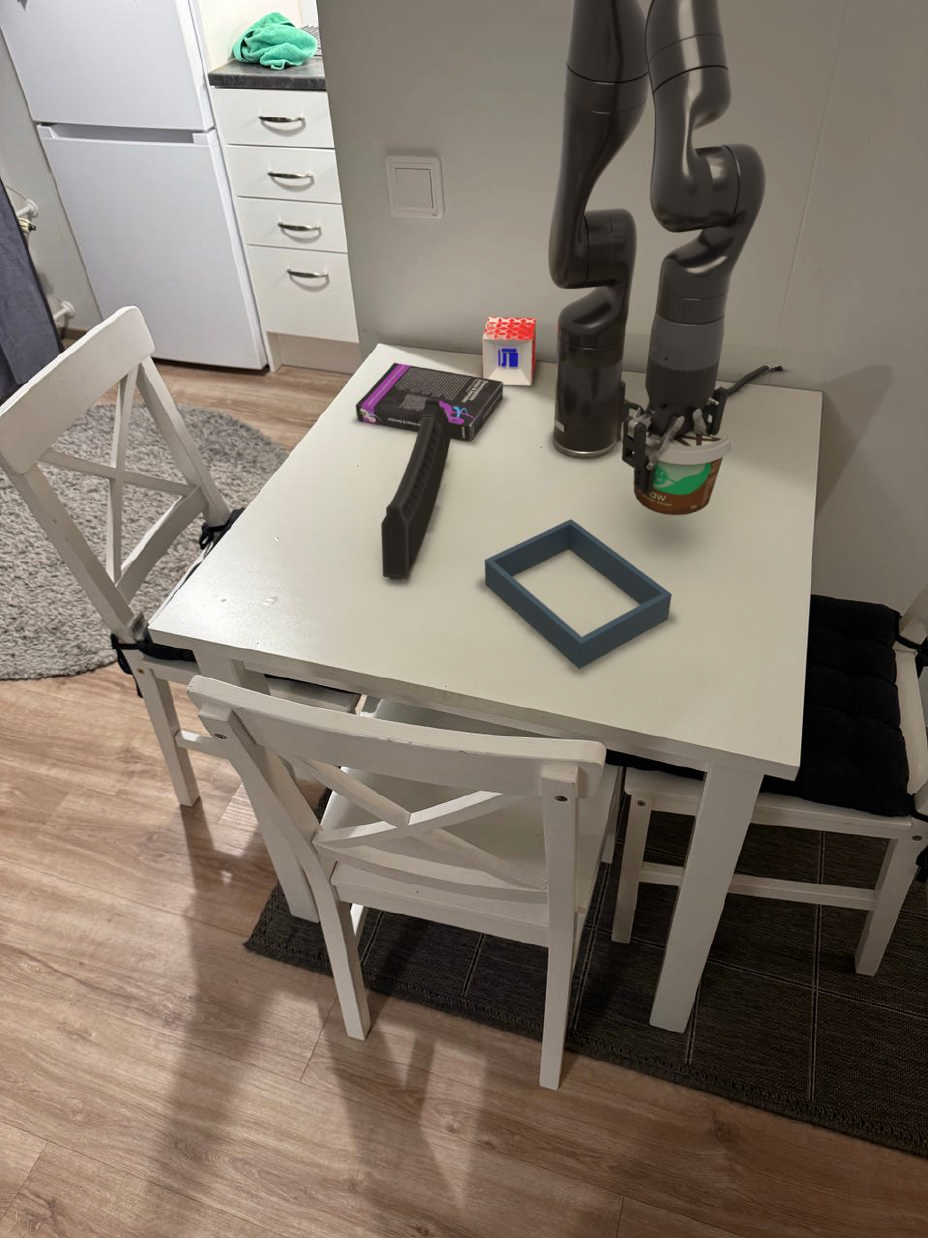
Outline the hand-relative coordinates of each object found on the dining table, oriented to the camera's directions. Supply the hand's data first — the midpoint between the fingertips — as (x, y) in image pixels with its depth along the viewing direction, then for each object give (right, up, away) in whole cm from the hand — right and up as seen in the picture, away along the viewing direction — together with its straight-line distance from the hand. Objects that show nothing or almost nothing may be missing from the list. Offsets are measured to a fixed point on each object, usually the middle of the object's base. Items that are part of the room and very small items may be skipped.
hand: (666, 479), depth 108 cm
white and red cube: (-16, +25, +44) cm, 53 cm away
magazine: (-30, -2, +16) cm, 34 cm away
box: (-29, +16, +36) cm, 49 cm away
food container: (0, -3, +2) cm, 4 cm away
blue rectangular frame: (-11, -14, +2) cm, 18 cm away
